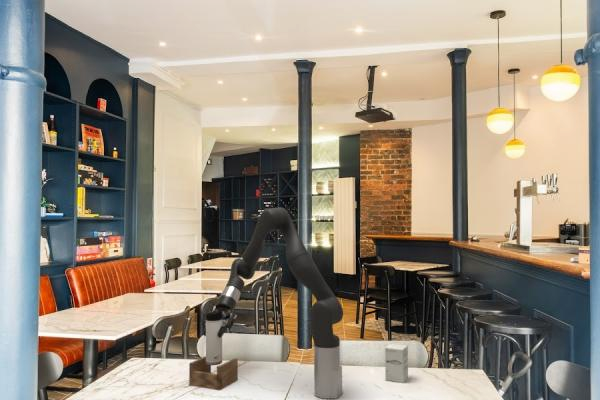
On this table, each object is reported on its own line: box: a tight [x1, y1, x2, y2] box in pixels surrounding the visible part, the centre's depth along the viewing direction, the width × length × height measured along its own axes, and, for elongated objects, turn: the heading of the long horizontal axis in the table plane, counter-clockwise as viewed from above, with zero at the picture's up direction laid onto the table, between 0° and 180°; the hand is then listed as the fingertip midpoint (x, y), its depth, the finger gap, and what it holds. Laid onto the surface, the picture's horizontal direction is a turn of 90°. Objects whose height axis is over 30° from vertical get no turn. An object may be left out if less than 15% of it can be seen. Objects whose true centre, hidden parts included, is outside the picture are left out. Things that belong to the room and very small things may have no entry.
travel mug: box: [205, 310, 223, 366], centre depth 178 cm, size 6×7×20 cm
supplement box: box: [384, 343, 409, 384], centre depth 179 cm, size 7×7×13 cm
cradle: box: [188, 355, 239, 391], centre depth 177 cm, size 14×12×8 cm
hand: (211, 335), depth 177 cm, fingers closed on travel mug, 6 cm apart
